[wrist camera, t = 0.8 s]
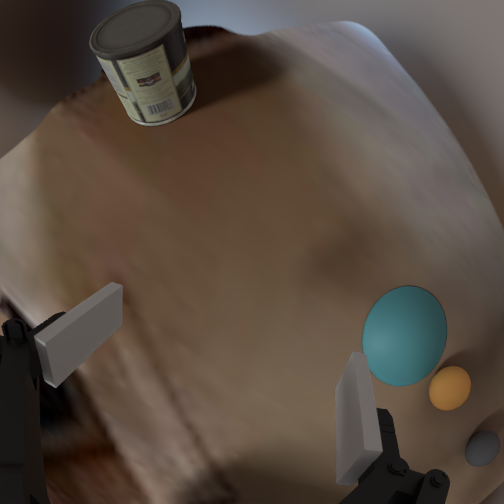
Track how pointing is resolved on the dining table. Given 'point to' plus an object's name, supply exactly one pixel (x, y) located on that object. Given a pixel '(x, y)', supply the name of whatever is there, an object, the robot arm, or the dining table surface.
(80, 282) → the dining table surface
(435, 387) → the orange ball
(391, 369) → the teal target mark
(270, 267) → the dining table surface
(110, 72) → the coffee can
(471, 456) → the charcoal ball
